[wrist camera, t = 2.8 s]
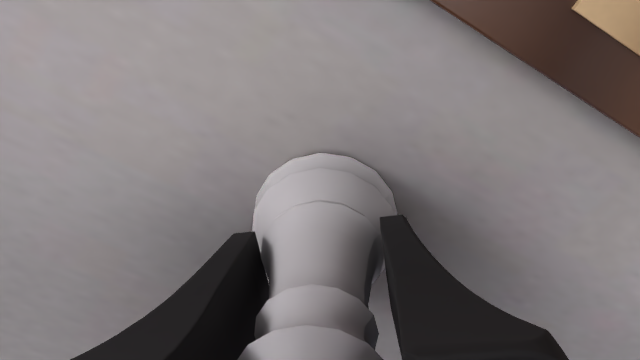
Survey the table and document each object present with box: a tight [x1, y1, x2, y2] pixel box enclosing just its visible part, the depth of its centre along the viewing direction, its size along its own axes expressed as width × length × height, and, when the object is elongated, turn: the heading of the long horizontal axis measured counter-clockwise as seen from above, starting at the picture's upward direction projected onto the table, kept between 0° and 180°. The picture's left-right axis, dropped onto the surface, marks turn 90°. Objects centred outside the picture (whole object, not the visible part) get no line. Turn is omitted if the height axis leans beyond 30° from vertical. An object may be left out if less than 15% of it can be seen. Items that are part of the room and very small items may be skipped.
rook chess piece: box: [237, 153, 398, 360], centre depth 14 cm, size 4×4×8 cm
